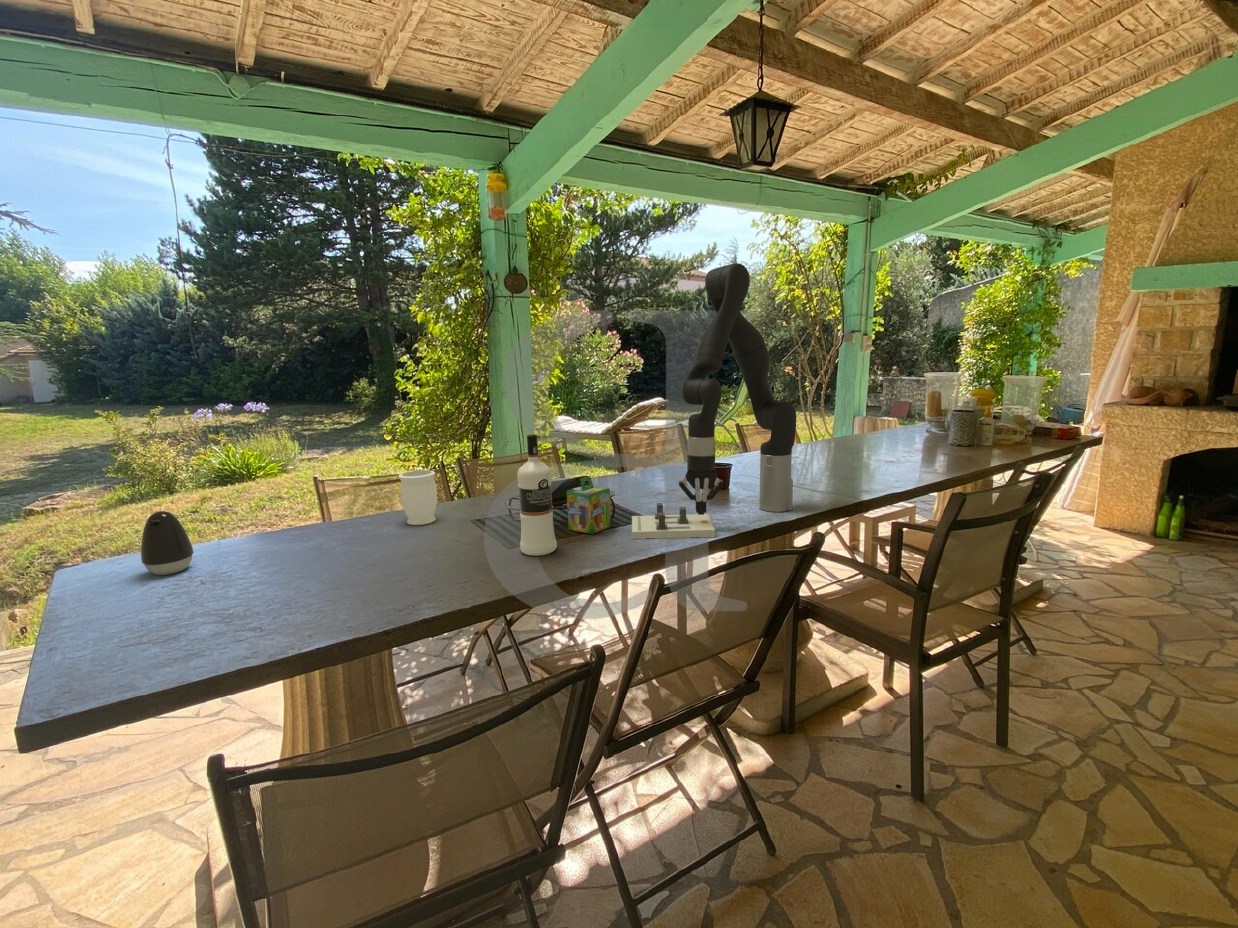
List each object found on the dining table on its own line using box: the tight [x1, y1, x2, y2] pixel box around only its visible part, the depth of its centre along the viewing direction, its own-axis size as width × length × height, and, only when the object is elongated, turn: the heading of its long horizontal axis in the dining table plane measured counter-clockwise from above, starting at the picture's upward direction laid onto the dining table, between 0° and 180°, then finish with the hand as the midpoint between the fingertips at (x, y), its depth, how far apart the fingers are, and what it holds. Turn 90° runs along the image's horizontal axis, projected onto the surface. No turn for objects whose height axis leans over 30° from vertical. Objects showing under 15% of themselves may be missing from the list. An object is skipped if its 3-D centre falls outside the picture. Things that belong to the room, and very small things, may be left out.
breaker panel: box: [631, 513, 716, 540], centre depth 169 cm, size 22×15×2 cm
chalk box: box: [566, 475, 612, 535], centre depth 171 cm, size 9×9×15 cm
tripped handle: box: [677, 506, 688, 523], centre depth 168 cm, size 3×3×4 cm
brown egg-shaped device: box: [140, 510, 194, 576], centre depth 147 cm, size 10×10×15 cm
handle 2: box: [656, 512, 667, 529], centre depth 164 cm, size 3×3×4 cm
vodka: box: [516, 433, 558, 557], centre depth 152 cm, size 9×9×30 cm
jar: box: [398, 469, 438, 526], centre depth 183 cm, size 11×10×15 cm
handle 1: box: [654, 502, 664, 518], centre depth 173 cm, size 3×3×4 cm
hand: (700, 514), depth 168 cm, fingers closed
